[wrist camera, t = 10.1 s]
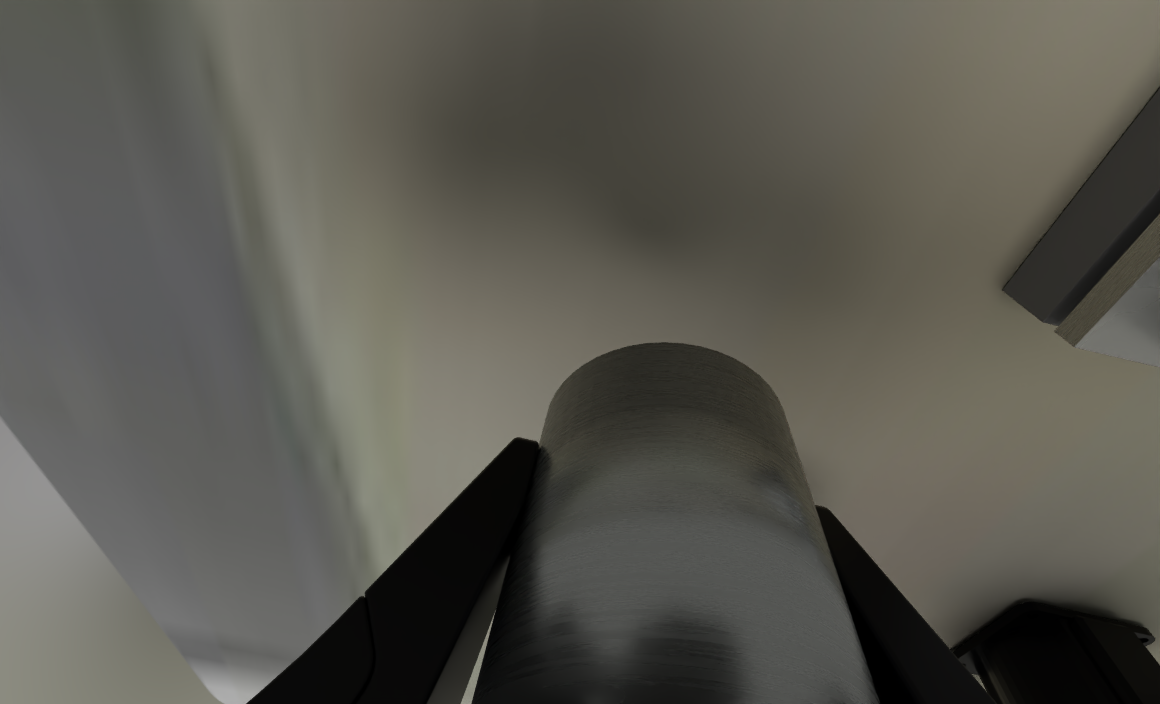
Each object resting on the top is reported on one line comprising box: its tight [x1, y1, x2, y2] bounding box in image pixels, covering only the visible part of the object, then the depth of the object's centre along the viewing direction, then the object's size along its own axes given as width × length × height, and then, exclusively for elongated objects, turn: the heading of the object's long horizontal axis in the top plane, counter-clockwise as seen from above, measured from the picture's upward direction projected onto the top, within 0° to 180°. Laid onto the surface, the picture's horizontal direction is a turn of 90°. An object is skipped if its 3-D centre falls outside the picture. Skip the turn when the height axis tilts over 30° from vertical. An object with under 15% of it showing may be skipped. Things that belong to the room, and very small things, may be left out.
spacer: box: [472, 342, 880, 704], centre depth 7 cm, size 4×4×5 cm
